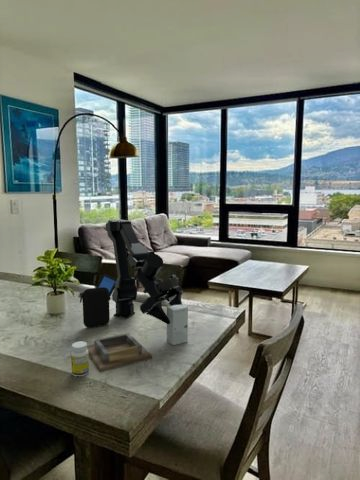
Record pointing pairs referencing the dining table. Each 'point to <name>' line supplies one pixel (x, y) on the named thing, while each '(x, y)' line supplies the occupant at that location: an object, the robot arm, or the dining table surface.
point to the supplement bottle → (80, 359)
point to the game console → (106, 284)
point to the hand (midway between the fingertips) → (177, 319)
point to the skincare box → (177, 324)
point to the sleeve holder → (117, 351)
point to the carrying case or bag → (95, 307)
